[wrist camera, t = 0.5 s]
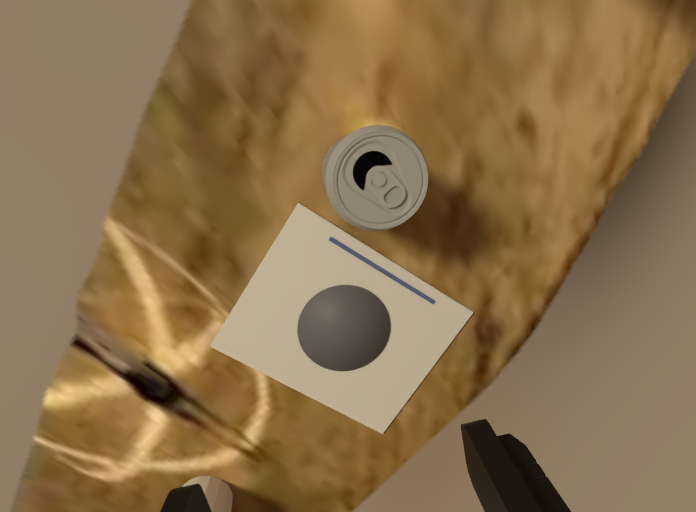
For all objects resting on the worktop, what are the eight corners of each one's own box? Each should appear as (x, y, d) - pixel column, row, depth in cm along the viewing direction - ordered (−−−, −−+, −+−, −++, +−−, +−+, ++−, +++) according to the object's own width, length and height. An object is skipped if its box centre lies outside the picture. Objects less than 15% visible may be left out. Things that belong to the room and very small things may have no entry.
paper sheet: (298, 202, 34) (298, 203, 34) (472, 311, 38) (473, 312, 38) (210, 344, 37) (209, 346, 36) (382, 432, 41) (382, 434, 40)
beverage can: (360, 118, 33) (387, 97, 21) (408, 175, 34) (456, 185, 23) (305, 169, 33) (302, 176, 22) (354, 223, 35) (375, 256, 23)
